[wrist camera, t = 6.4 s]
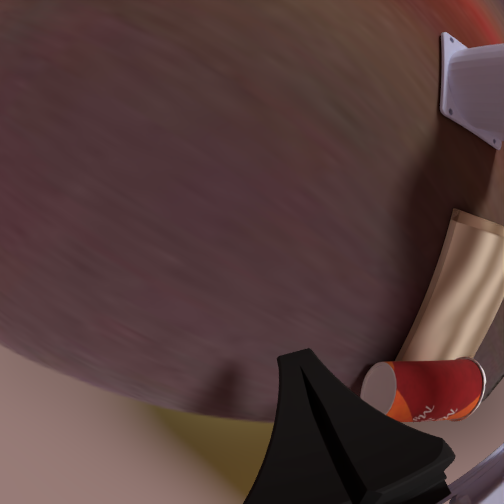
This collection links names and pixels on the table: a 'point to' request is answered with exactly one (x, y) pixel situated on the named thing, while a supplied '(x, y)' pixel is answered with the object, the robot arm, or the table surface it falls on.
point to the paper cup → (425, 389)
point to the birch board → (460, 292)
